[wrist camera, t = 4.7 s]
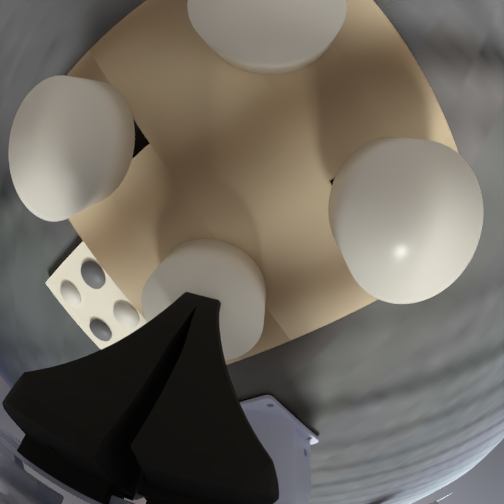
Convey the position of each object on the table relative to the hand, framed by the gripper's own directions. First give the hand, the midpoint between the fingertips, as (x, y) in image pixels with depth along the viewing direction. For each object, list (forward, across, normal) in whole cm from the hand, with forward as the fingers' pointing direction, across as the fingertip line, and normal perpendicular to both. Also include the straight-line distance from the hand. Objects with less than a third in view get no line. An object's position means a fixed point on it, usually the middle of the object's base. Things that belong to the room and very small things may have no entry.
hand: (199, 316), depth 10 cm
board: (+4, 0, -6) cm, 7 cm away
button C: (+4, 0, -11) cm, 12 cm away
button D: (+2, +6, -6) cm, 8 cm away
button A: (+2, -6, -6) cm, 8 cm away
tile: (+4, +7, +5) cm, 10 cm away
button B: (+4, 0, 0) cm, 4 cm away
